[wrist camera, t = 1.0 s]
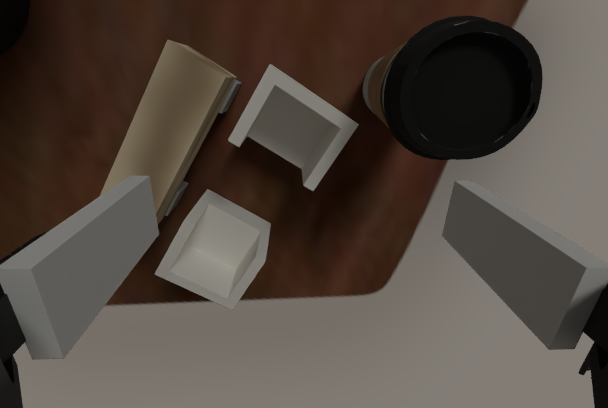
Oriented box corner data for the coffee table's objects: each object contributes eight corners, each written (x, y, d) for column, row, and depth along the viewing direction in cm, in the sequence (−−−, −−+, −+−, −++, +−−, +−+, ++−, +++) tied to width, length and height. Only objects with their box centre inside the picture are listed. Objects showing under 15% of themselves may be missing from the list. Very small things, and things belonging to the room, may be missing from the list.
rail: (120, 197, 31) (90, 218, 27) (189, 46, 26) (167, 39, 22) (162, 218, 32) (141, 242, 28) (236, 77, 28) (225, 77, 23)
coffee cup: (416, 138, 33) (506, 182, 19) (339, 120, 32) (376, 153, 18) (447, 52, 30) (580, 30, 16) (363, 29, 29) (428, -15, 15)
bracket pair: (182, 234, 36) (154, 274, 29) (275, 67, 30) (269, 63, 23) (243, 264, 38) (232, 310, 31) (343, 113, 32) (358, 124, 24)
